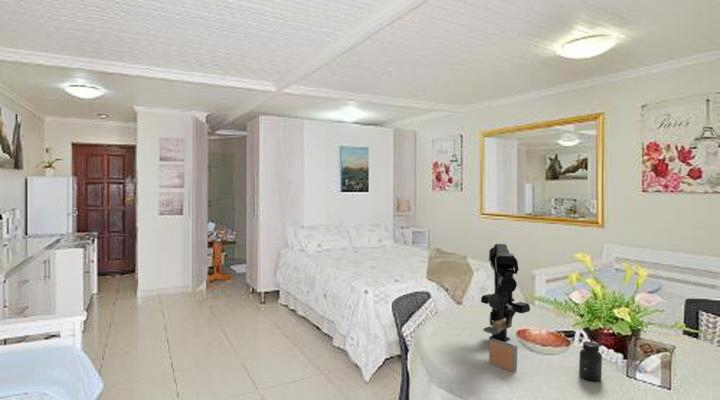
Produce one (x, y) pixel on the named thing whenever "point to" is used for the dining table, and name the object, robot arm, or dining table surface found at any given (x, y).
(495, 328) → the brown wooden slab
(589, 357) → the supplement bottle
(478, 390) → the dining table surface
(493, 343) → the tile
